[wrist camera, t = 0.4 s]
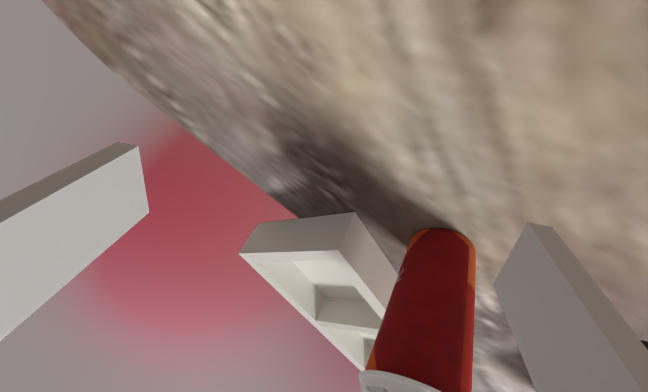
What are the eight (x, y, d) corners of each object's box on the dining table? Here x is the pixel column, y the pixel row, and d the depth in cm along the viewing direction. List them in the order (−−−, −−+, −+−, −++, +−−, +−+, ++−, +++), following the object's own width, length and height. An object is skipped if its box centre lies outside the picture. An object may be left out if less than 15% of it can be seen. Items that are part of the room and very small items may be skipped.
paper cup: (383, 233, 32) (330, 386, 23) (452, 208, 26) (416, 399, 17) (435, 278, 34) (404, 434, 25) (509, 264, 28) (502, 459, 20)
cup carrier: (258, 223, 40) (238, 253, 37) (354, 211, 31) (338, 250, 28) (369, 343, 54) (360, 371, 52) (455, 358, 46) (451, 392, 43)
